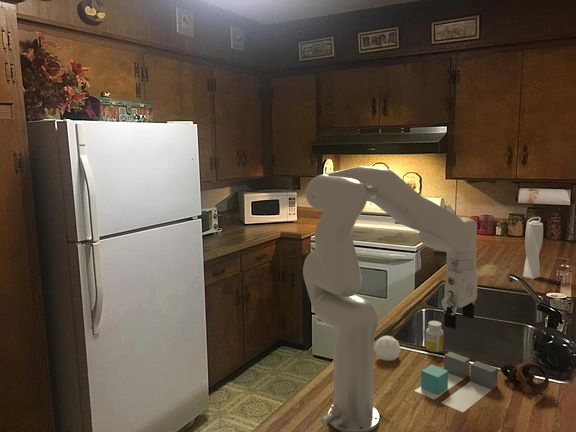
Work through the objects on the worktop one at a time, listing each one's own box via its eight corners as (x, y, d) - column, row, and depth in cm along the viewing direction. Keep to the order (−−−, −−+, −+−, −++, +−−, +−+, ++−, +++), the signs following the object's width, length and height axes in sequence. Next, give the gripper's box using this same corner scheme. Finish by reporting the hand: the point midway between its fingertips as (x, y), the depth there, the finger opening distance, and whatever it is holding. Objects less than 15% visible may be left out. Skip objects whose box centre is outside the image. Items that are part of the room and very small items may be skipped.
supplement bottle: (429, 356, 150) (429, 327, 148) (422, 348, 155) (423, 320, 153) (445, 354, 150) (446, 326, 149) (438, 347, 156) (439, 319, 154)
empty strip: (462, 416, 118) (463, 393, 117) (440, 406, 122) (441, 384, 121) (496, 389, 130) (497, 368, 129) (475, 380, 134) (476, 360, 133)
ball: (383, 365, 151) (383, 339, 154) (405, 363, 145) (405, 337, 149) (369, 360, 146) (369, 334, 150) (391, 358, 141) (391, 331, 144)
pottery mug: (543, 382, 134) (554, 366, 128) (539, 411, 128) (549, 395, 122) (498, 364, 138) (507, 348, 133) (492, 391, 132) (500, 375, 127)
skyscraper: (528, 273, 231) (531, 215, 226) (543, 276, 224) (548, 217, 220) (519, 276, 226) (522, 217, 221) (535, 280, 220) (539, 220, 215)
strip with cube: (433, 403, 124) (434, 381, 123) (414, 394, 128) (414, 373, 127) (468, 378, 136) (469, 358, 135) (449, 370, 140) (450, 351, 139)
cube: (437, 395, 126) (438, 377, 125) (421, 387, 129) (421, 370, 129) (447, 388, 129) (448, 370, 128) (431, 381, 133) (431, 364, 132)
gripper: (457, 273, 123) (455, 335, 126) (489, 259, 134) (487, 316, 137) (431, 267, 128) (430, 327, 131) (464, 254, 139) (462, 310, 143)
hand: (459, 322), depth 134 cm, fingers open, 9 cm apart
